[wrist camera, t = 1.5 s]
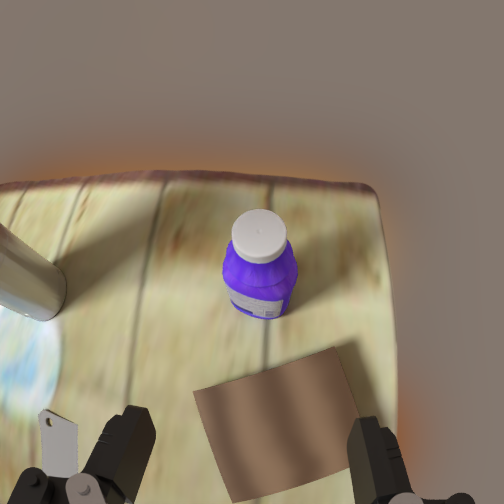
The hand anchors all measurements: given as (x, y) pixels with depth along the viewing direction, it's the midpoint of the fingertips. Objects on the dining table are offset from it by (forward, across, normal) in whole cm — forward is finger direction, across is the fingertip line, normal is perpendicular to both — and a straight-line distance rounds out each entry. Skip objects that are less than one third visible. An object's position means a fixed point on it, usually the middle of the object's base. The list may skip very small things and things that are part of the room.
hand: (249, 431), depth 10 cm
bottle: (+27, 0, +9) cm, 28 cm away
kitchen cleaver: (+5, +28, +31) cm, 42 cm away
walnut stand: (+15, -3, +20) cm, 25 cm away
